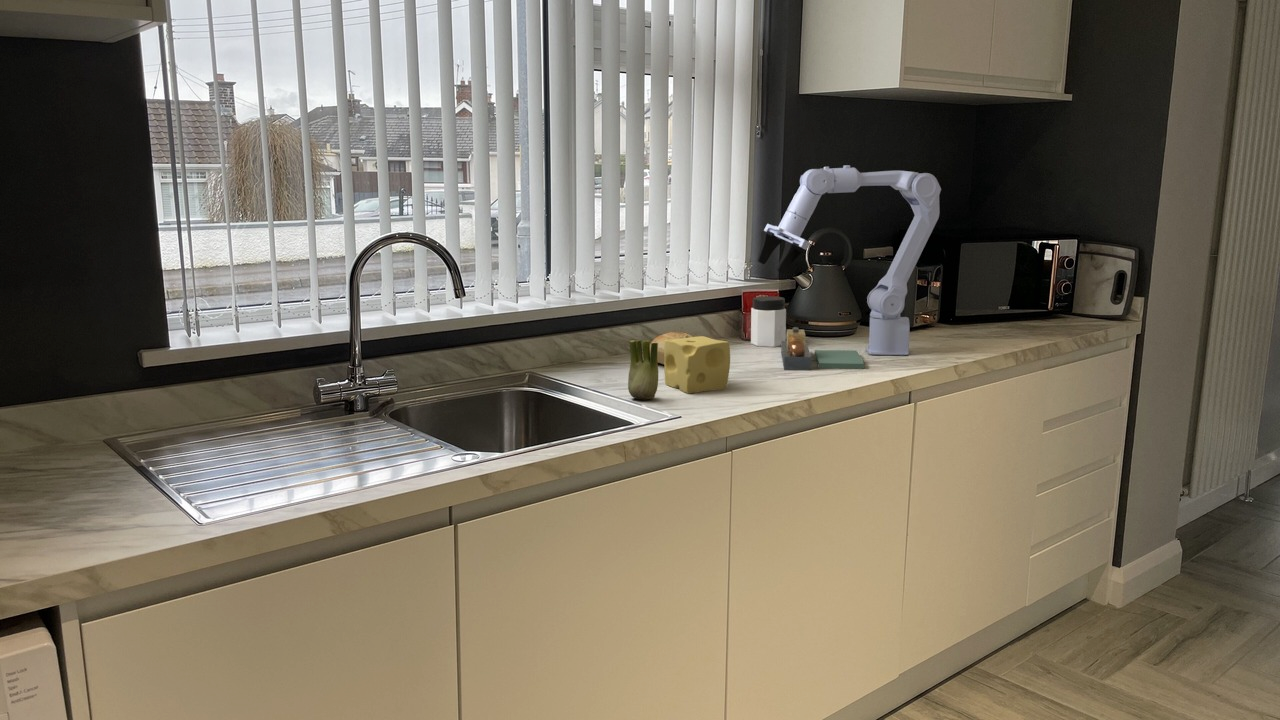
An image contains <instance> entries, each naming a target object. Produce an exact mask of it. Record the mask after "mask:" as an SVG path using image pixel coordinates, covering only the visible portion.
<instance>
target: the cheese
mask: <svg viewBox="0 0 1280 720" xmlns="http://www.w3.org/2000/svg"><path fill="white" fill-rule="evenodd" d="M664 357H665V361H664V364H663V365H664V369H663V370H664V383H665V385H666V386H668V387H671V388H675V389H679V391H680V392H683V393H685V394H687V395H688V394H689V393H690V394H695V393H701V392H707V391H708V392H709V391H717V390H718V391H719V390H725V389H727V388H728V387H727V386H728V381H729V375H730V369H731V368H730V367H731V349H730V342H729V341H727V340H726V341H725V340H722V339H721V340H719V339H715V338H711V337H707V336H702V335H699V336H692V337H690V338H682V339H670V340H665V346H664Z"/></svg>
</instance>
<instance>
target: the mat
mask: <svg viewBox="0 0 1280 720" xmlns="http://www.w3.org/2000/svg"><path fill="white" fill-rule="evenodd" d="M814 358H815V360H816V362H817V363H816V364H817V367H818V369H836V370H837V369H840V370H841V369H843V370H845V369H847V370H848V369H854V370H857V369H858V370H859V369H860V370H861V369H862V370H864V369H865V363H864V361H863V359H862V358H861V355H860V354H859V352H858V350H853V349H852V350H849V349H848V350H847V349H845V350H844V349H843V350H838V349H837V350H836V349H835V350H834V349H833V350H831V349H828V350H826V349H815V350H814Z"/></svg>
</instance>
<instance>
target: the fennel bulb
mask: <svg viewBox="0 0 1280 720" xmlns="http://www.w3.org/2000/svg"><path fill="white" fill-rule="evenodd" d="M651 342H652V341H651ZM651 342H650V341H649V340H643V341H642V340H640V339H637V340H630V341H629V342H628V343H629V353H630V354H629V355H630V363H629V371H628V379H627V380H628V382H627V383H628V384H627V387H628V389H627V390H628V392H629V394H630V396H631V397H632V398H634V399H636V400H642V401H643V400H646V401H647V400H651V399H654V398H655V396H656V393H657V391H658V385H659V367H658V366H659V365H658V364H659V363H658V361H657V349H658V343H656V342H652V343H651ZM650 343H651V353H650Z"/></svg>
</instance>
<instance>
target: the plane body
mask: <svg viewBox="0 0 1280 720" xmlns="http://www.w3.org/2000/svg"><path fill="white" fill-rule="evenodd" d="M780 348H781V349H780V353H781V360H782V365H783V370H785V371H811V370H812V355H811V352H810V348H809V346H808V343H807V341H806V340H805V344H802V343H792V344H790V351H787V340H785V341H781V346H780ZM804 351H805V352H804Z"/></svg>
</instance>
